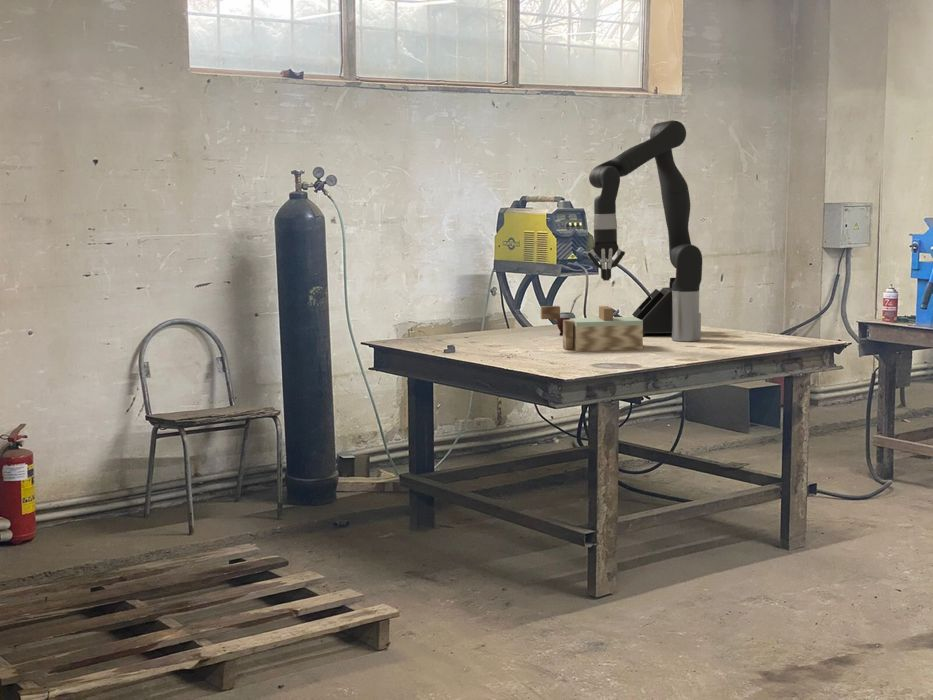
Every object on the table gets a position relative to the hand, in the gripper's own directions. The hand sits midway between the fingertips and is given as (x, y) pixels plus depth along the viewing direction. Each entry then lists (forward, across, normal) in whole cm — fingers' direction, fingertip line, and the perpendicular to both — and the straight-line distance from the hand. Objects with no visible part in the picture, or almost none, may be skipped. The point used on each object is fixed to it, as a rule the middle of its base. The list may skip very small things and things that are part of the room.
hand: (606, 280), depth 374 cm
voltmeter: (+23, -26, -34) cm, 48 cm away
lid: (+15, 0, 0) cm, 15 cm away
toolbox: (+22, +2, 0) cm, 23 cm away
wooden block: (+12, +19, 0) cm, 22 cm away
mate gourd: (+23, +6, -38) cm, 44 cm away
